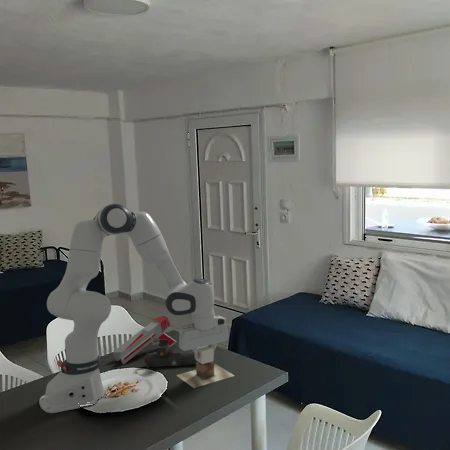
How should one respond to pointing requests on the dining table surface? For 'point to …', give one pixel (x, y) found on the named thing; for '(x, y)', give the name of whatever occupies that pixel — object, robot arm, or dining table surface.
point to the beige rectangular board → (198, 381)
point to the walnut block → (205, 370)
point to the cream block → (205, 354)
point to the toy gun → (144, 339)
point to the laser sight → (168, 356)
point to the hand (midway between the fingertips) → (204, 356)
